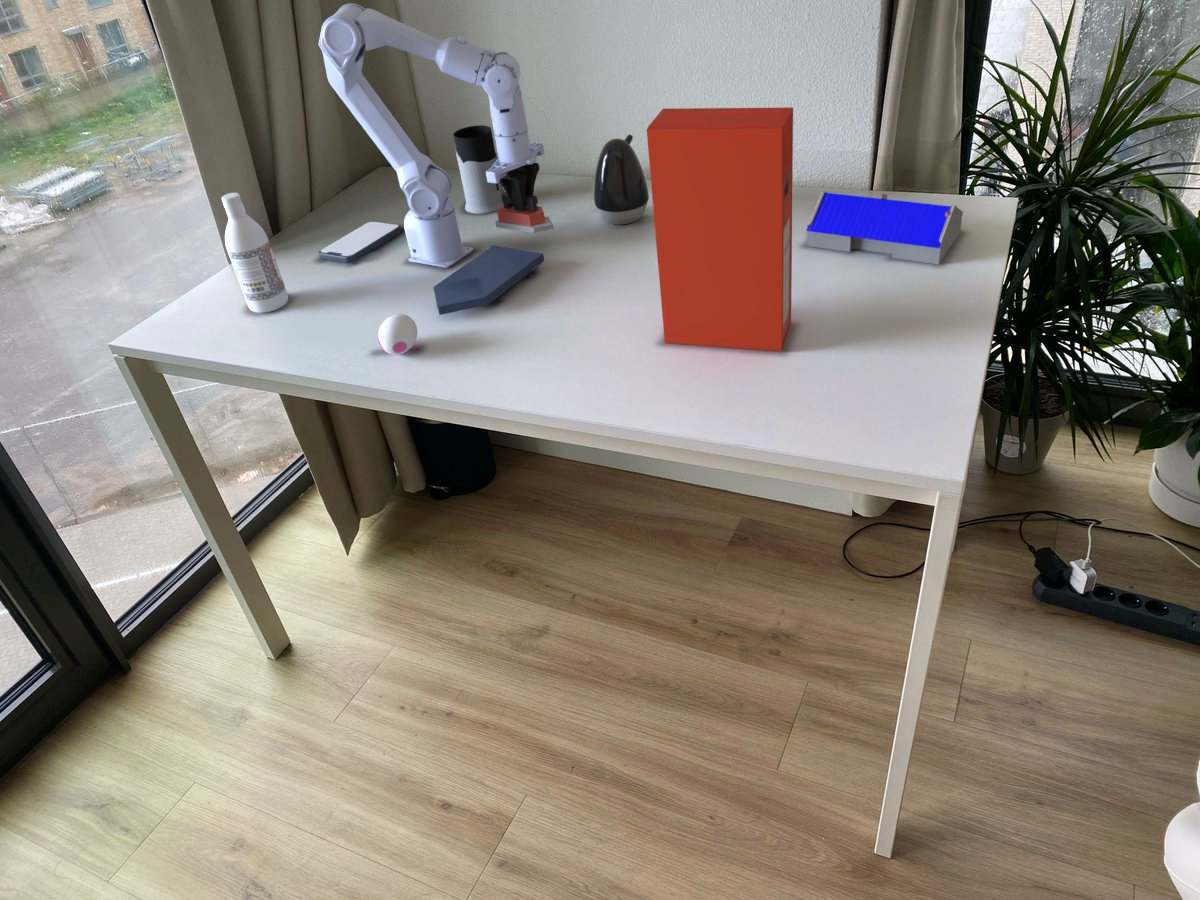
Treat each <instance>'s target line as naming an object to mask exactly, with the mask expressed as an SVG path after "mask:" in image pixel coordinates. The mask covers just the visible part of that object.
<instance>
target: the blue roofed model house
mask: <svg viewBox="0 0 1200 900" xmlns="http://www.w3.org/2000/svg"><path fill="white" fill-rule="evenodd" d="M963 214H964V212H963V210H962V209H960V208H959V207H957V205H954V204H951V205H942V204H935V203H934V204H933V203H922V202H917V201H916V202H914V201H905V200H895V199H888V194H885V193H881V198H878V197H868V196H859V195H850V194H842V193H832V192H827V191H825V190H822V191H821V193H820V194H819V196H818V199H817V201H816V204H815V207H814V209H813V211H812V214H811V216H810V218H809V221H808V224H807V228H806V230H805V231H806V233H807V236H806V239H807V240H806V246H807V247H810V248H818V249H825V250H832V251H838V252H839V251H840V252H846V253H850V252H851V251H852V250H859V251H866V252H873V253H880V254H881V253H882V254H888V255H891V259H896V260H904V261H911V262H918V263H926V264H933V265H940V263H941V262H942V260H943V259H944V257H945V256H946V254H948V251H949V250H950V249H951V247H952V246H953V244H954V243H955V241H956V240H957V239H958V237H959V236H960V234H961V229H962V221H963Z"/></svg>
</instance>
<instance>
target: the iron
mask: <svg viewBox="0 0 1200 900" xmlns="http://www.w3.org/2000/svg"><path fill="white" fill-rule="evenodd" d="M501 197H502V202H503V205H504V207H502V208H500V209H499V210H497V211H496V213H497V219H498V220H496V221H495V227H496V228H499V229H506V230H512V231H517V232H526V233H530V234H531V233H532V234H536V233H540V232H546V231H551V230H554V224H553V221H552V220H551V217H549V216H545V211H544V210H543V207H542V206H540V205H539V206H538V205H537V204H538V203H539V201H538V196H537V195H536V194H535V195H534V194H533V195H528V194H525V198H526V205H528V206H526V210H525V211H518V210H515V209H514V207H513V205H512V203H511V200H510V198H509V196H508V194H507V192H506V191H505V193H503V194H501Z"/></svg>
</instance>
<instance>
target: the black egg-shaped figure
mask: <svg viewBox="0 0 1200 900" xmlns="http://www.w3.org/2000/svg"><path fill="white" fill-rule="evenodd" d="M633 139H634V136H633V135H632V134H628V135H627V136H626V137H625V138H624V139H622V138H612V139H610V140H608V141H607V142H606V143H605V144H604V145H603V147H602V149H601V151H600V153H599V156H598V160H597V164H596V170H595V177H594V187H593V191H594V192H593V201H594V205H595V207H596V209H597V210H598V213H599V214H600V216H601V217H602V219H604V220H605V221H606V222H608V223H610V224H614V225H627V224H631V223H633V222H636V221H637V220H639V219H640V218H641V217H642V216H643V214H644V213H645V212H646V210H647V206H648V201H649V200H650V195H649V189H648V183H647V181H646V176H645V172H644V170H643V167H642V165H641V162H640V160H639V157H638V156H637V154H636V152H635V150H634V149H633V147H632V146H631V143H632V142H633Z"/></svg>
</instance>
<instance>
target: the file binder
mask: <svg viewBox="0 0 1200 900" xmlns="http://www.w3.org/2000/svg"><path fill="white" fill-rule="evenodd" d="M646 139H647V151H648V162H649V163H648V165H649V173H650V175H649V176H650V185H651V186H650V187H651V197H652V198H651V199H652V209H653V219H654V220H653V221H654V222H653V223H654V232H655V233H654V234H655V244H656V255H657V256H656V257H657V267H658V268H657V269H658V278H659V279H658V280H659V291H660V293H659V294H660V304H661V314H662V326H663V338H664V343H665V344H673V345H685V346H697V347H698V346H699V347H711V348H722V349H723V348H724V349H725V348H726V349H737V350H751V351H763V352H776V353H777V352H778V353H782V352H783V350H784V348H785V344H786V342H787V339H788V335H789V333H790V329H791V325H792V281H793V280H792V279H793V278H792V277H793V275H792V274H793V273H792V272H793V270H792V269H793V268H792V266H793V265H792V264H793V261H792V260H793V174H794V173H793V172H794V171H793V170H794V169H793V168H794V167H793V162H794V161H793V160H794V157H793V155H794V107H792V106H791V107H699V108H698V107H697V108H696V107H695V108H694V107H693V108H688V107H687V108H686V107H685V108H681V107H680V108H661V110H660V112H659V113H658V114H657V115H656V117H655V118H654V119H653V120H652V121H651V122H650V123H649V125H648V126H647V128H646Z"/></svg>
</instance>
